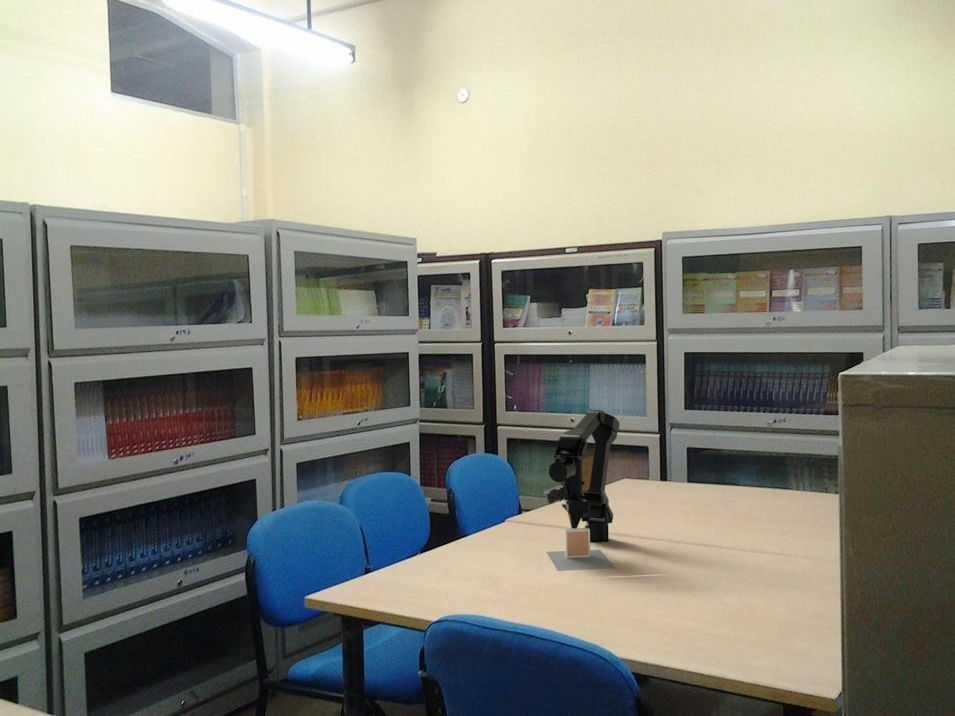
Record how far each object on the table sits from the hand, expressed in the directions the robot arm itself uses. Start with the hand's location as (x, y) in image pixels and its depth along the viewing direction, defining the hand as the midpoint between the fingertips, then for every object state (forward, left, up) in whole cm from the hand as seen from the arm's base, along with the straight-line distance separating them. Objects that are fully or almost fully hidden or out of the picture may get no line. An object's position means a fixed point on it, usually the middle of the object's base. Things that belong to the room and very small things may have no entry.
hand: (573, 530), depth 251 cm
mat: (0, +8, -7) cm, 10 cm away
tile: (0, +5, -7) cm, 8 cm away
